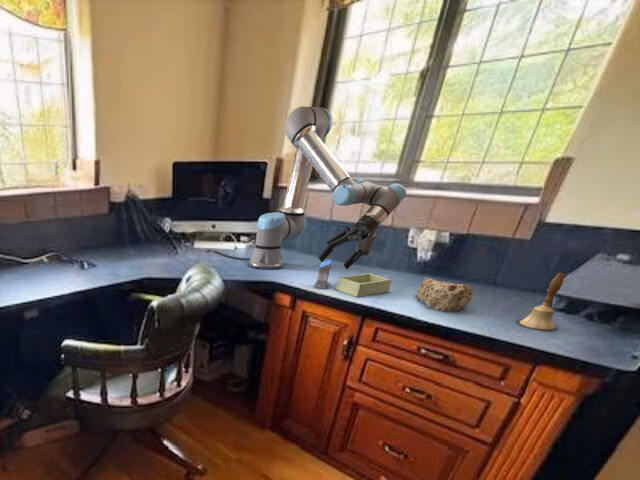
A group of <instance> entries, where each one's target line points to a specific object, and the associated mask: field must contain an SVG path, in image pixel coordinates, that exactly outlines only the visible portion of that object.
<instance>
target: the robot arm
mask: <svg viewBox="0 0 640 480" xmlns="http://www.w3.org/2000/svg"><path fill="white" fill-rule="evenodd" d="M332 116H333V115H332V114H331V112H330V111H329V110H328V109H327V108H324V107H322V106H306V105H305V106H304V105H303V106H298V107H296V108H294V109H293V110H292V111H291V112H290V113H289V114H288V115H287V118H286V120H285V122H284V131H285V135H286V136H287V139H288V140H289V142H290V143H291V144H292V145H293V147H294V148H295V152H294V157H293V162H292V166H291V170H290V174H289V179H288V184H287V188H286V192H285V196H284V197H285V198H284V202H283V205H282V206H281V207H279V209H278V211H277V212H276V211H274V212H267V213H264V214H261V215H260V216H259V217H258V220H257V225H256V234H255V235H256V237H255V245H254V250H253V252H252V255H251V257H250V258H249V257H239V256H238V257H237V256H232V255H228V254H225V253H222V252H220V251H217V250H215V251H213V253H215V254H219V255H221V256H224V257H227V258H231V259H236V260H244V261H245V260H246V261H249V263H248V264H249V267H252V268H255V269H261V270H276V269H280V268H282V267H283V257H282V252H281V251H282V250H281V247H282V241H289V240H294V239H296V238H298V237H300V236H302V235H303V233H304V232H305V230H306V227H307V219H306V216H305V214H306V210H305V208H304V203H305V199H306V195H307V192H308V187H309V183H310V179H311V176H312V175H311V174H312V171H313V168H314V169H315V171H316V172H317V174H318V175H319V176H320V178H321V179H322V180H323V182H324V183H325V184H326V185H327V187H328V188H329V189H330V191H331V192H332V199H333V202H334V204H335V205H336V206H339V207H348V206H352V205H359V204H364V205H367V206H370V207H369V208H368V209H367V210H366V211H365V212H364V214H363V215H362V216H361V217H360V218H359V219H358V220H357V221H356V223H355V226H354V227H352V228H351V227H350V226H346V227H345V228H344V229H343V230H342V231H340V232H339V233H337V234H336V235H334V236H332V237H331V238H330V239H328V240H326V245H327V246H326V247H325V248H324V249H323V251H322V253H321V254H320V255H319V256H318V260H319V261H320V262H321V263H322V262H325V261H326V259H327V258H328V257H329V256H330V255H331V254H332V252H333V251H334V249H335V248H338V247H339V246H341V245H344V244H345V243H347V242H356V243H357V251H356V250H355V251H354V252H353V253H352V254H351V256H350V257H349V258H348V259H347V260H346V261H345V262H344V263H343V266H344V268H345V270H349V268H351V267H352V265H354V263H356V262H357V261H358V260H359V259H360V258H361V257H363V256H368V255H369V254H370V251H371V249H372V247H373V243H374V241H375V239H376V238H377V236H378V235H377V234H376V232H375V231H376V230H377V229H378V228H379V226H381V225H382V224H383V223H384V221H385V220H387V218H388V217H389V216H390V215H391V214H392V212H393V211H394V210H395V209H396V208H397V207H398V206H400V204H401V203H402V202H403V201H404V199H405V198H406V196H407V190H406V188H405V187H404V186H403V185H401V184H399V183H391V184H390V185H389V186H387V187H385V186H381V185H378V184H375V183H373V182H371V181H369V180H367V179H366V180H365V179H362V178H361V179H360V178H359V179H356V180H355V181H354V180H353V179H352V178H351V176H350V175H349V174H348V172H347V171H346V170H345V168H344V167H343V166H342V165H341V163H340V162H339V161H338V159H337V158H336V157H335V156H334V154H333V153H332V152H331V150H330V149H329V148H328V146H327V145H326V144H325V143H324V138H326V136H327V135H329V133H330V132H331V129H332V126H333V117H332ZM211 250H212V249H208V250H207V251H206V253H209V252H212V251H211Z"/></svg>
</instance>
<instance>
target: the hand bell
mask: <svg viewBox="0 0 640 480" xmlns="http://www.w3.org/2000/svg"><path fill="white" fill-rule="evenodd" d="M564 276H565V273H563V272H558V273H557V274H556V275H555V277H553V278H552V279H551V281H550V283H549V285H548V289H547V291H548V292H547V294H546V297H545V298H544V300H543V303H542V304H541V305H538V306H535V307H534V308H533V310H532V311H531V312H530V313H529V314H528V316H526V317H525V318H523V319H521V320H519V324H520V325H521V326H523V327H526V328H530V329H535V330H541V331H552V330H555V329H556V325H555V324H554V322H553V316H554V313H555V312H554V311H555V310H554V309H553V308H552V307H551V304H552V302H553V299H554V297H555V296H556V294H557V293H558V292H559V290H560V289H561V288H562V286H563V284H564Z"/></svg>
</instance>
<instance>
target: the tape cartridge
mask: <svg viewBox="0 0 640 480" xmlns="http://www.w3.org/2000/svg"><path fill="white" fill-rule="evenodd" d="M334 253H335V252H334ZM334 253H332V256H331V259H327V260H324V261H323V262H321V263H320V266H319V270H318V274H317V279H316V284H315V288H316V289H323V290H324V289H326V288H327V286H328V280H329V275H330V270H331V265H332V260H333V258H334Z"/></svg>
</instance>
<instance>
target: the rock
mask: <svg viewBox="0 0 640 480" xmlns="http://www.w3.org/2000/svg"><path fill="white" fill-rule="evenodd" d="M473 292H474V290H473V287H472V285H467V283H466V284H465V283H464V284H462V283H453V282H450V281H445V280H443V281H439V280H436V279H434V278H429V277H425V278H423V281H422V283H421V284H420V285H419V287H418V288H417V290H416V295H417V299H418V300H420V301H421V302H424V303H425V304H426V306H428V308H430V309H434V310H437V311H441V312H447V311H448V312H458V311H459V310H460V309H464V308H465V307H466V306H467V305H468V304H469V303H470V302H471V300H472V299H473Z"/></svg>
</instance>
